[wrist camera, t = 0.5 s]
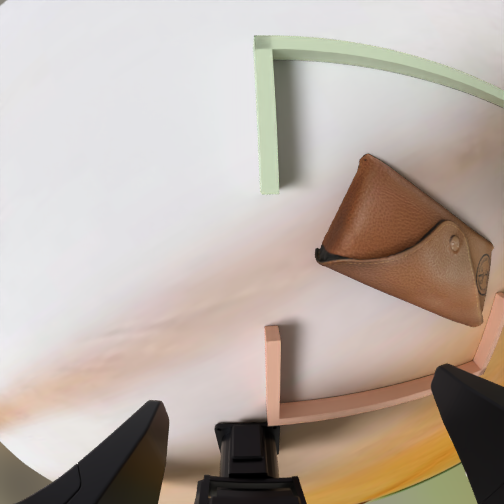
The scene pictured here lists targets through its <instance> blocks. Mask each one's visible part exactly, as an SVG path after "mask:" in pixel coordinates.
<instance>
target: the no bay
mask: <svg viewBox="0 0 504 504" xmlns="http://www.w3.org/2000/svg"><path fill="white" fill-rule="evenodd" d="M503 326H504V294H503V293H501V292H499V293H496V295H495V299H494V303H493V306H492V309H491V313H490V316H489V319H488V322H487V325H486V328H485V331H484V333H483V336H482V339H481V342H480V344H479V347H478V349H477V352H476V354H475V357H474V359H473V361H471V362H468V363H465V364H463V365H460V366H457V368H460V369H462V370H464V371H467V372H469V373H471V374H474V375H476V376H480V375H482V374H484V372H485V370H486V367H487V365H488V363H489V361H490V359H491V356H492V354H493V352H494V349H495V347H496V344H497V342H498V339H499V337H500V334H501V331H502V329H503ZM265 357H266V402H267V420H268V426H276V425H287V424H297V423H306V422H314V421H321V420H327V419H334V418H340V417H345V416H351V415H356V414H361V413H365V412H370V411H374V410H378V409H383V408H387V407H391V406H394V405H398V404H402V403H405V402H409V401H412V400H415V399H419V398H422V397H425V396H428V395H431V394H433V393H432V391H431V382H432V380H433V377H434V374H433V375H429V376H426V377H423V378H419V379H416V380H412V381H408V382H404V383H401V384H396V385H392V386H388V387H384V388H379V389H375V390H370V391H365V392H360V393H354V394H349V395H343V396H337V397H330V398H323V399H316V400H308V401H299V402H289V403H280V363H281V339H280V334H279V329H278V326H265Z"/></svg>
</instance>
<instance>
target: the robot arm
mask: <svg viewBox="0 0 504 504" xmlns="http://www.w3.org/2000/svg"><path fill="white" fill-rule="evenodd" d="M431 391H432V393H433V396H434V399H435V401H436V404H437V407H438V409H439V412H440V415H441V418H442V420H443V423H444V425H445V427H446V429H447V431H448V434H449V436H450V438H451V440H452V442H453V444H454V447H455V449H456V451H457V453H458V455H459V458H460V460H461V462H462V465H463V467H464V469H465V472H466V474H467V477H468V479H469V482H470V484H471V487H472V490H473V492H474V495H475V498H476V500H477V503H478V504H504V387H503V386H500V385H498V384H495V383H493V382H490V381H488V380H486V379H483V378H481V377H479V376H476V375H474V374H471V373H469V372H467V371H464V370H462V369H460V368H457V367H455V366H453V365H450V364H444V365H441V366H438V367H437V369H436V371H435V374H434V377H433V380H432V382H431ZM168 433H169V417H168V415H167V412H166V409H165V407H164V404H163V402H162V401H157V400H149V401H147V402H146V403H145V404H144V405H143V406H142V407H141V408H140V409H139V410H137V411H136V412H135V413H134V414H133V415H132V416H131V417H130V418H129V419H128V420H126V421H125V422H124V423H123V424H122V425H121V426H120V427H119V428H117V429H116V430H115V431H114V432H113V433H112V434H111V435H110V436H108V437H107V438H106V439H105V440H104V441H103V442H101V443H100V444H99V445H98V446H97V447H96V448H95V449H93V450H92V451H91V452H90V453H89V454H88V455H86V456H85V457H84V458H83V459H82V460H80V461H79V462H78V464H76V465H74V466H73V467H72V468H71V469H70V470H68V471H67V472H66V473H64V474H63V475H62V476H61V477H59V478H58V479H56V480H55V481H53V482H52V483H51V484H49V485H47V486H46V487H44V488H43V489H41V490H39V491H38V492H36V493H34V494H32V495H31V496H29V497H27V498H26V499H24V500H22V501H20V502H18V503H15V504H158V500H159V495H160V490H161V485H162V480H163V476H164V471H165V465H166V457H167V444H168ZM215 433H216V437H217V441H218V445H219V449H220V453H221V460H220V477H217V476H210V475H204V479H203V480H201V481H198V485H197V493H196V498H195V503H194V504H307V503H306V500H305V497H304V494H303V491H302V488H301V485H300V482H299V478H298V476H292V477H288V478H279V470H278V461H277V455H278V454H279V436H280V425H276V426H268V423H249V424H217V425H215Z"/></svg>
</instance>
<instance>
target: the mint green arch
mask: <svg viewBox="0 0 504 504" xmlns="http://www.w3.org/2000/svg"><path fill="white" fill-rule="evenodd" d="M253 52H254V70H255V89H256V110H257V131H258V153H259V176H260V192H261V194H262V195H268V194H279V171H278V145H277V123H276V104H275V86H274V70H273V60H301V61H317V62H329V63H338V64H347V65H354V66H361V67H368V68H374V69H379V70H385V71H390V72H394V73H399V74H404V75H408V76H412V77H416V78H420V79H424V80H427V81H431V82H434V83H438V84H441V85H444V86H448V87H451V88H454V89H457V90H460V91H463V92H465V93H468V94H471V95H473V96H476V97H479V98H481V99H484V100H486V101H489V102H491V103H493V104H496V105H498V106H500V107H502V108H504V91H503V90H501V89H499V88H497V87H495V86H493V85H491V84H489V83H487V82H485V81H483V80H480V79H478V78H476V77H474V76H471V75H469V74H466V73H464V72H461V71H459V70H456V69H453V68H451V67H448V66H445V65H442V64H439V63H436V62H433V61H430V60H427V59H424V58H421V57H417V56H414V55H410V54H406V53H402V52H398V51H394V50H390V49H386V48H381V47H376V46H371V45H366V44H360V43H354V42H348V41H341V40H333V39H324V38H313V37H299V36H254V44H253Z"/></svg>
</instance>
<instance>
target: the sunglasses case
mask: <svg viewBox="0 0 504 504" xmlns="http://www.w3.org/2000/svg"><path fill="white" fill-rule="evenodd" d="M359 162H360V163H359V166H358V171H357V173H356V175H355V177H354V179H353V181H352V183H351V185H350V187H349V189H348V191H347V194H346V195H345V197H344V199H343V202H342V204H341V205H340V207H339V210H338V212H337V213H336V216H335V218H334V220H333V221H332V224H331V225H330V228H329V230H328V232H327V234H326V235H325V237H324V240H323V242H322V245H321V248H320V249H318V248H316V249H315V258H316V261H317V262H318V263H319V264H320V265H322V266H325V267H328V268H330V269H332V270H334V271H337V272H339V273H341V274H343V275H346V276H348V277H350V278H352V279H354V280H357V281H359V282H361V283H363V284H366V285H368V286H370V287H373V288H375V289H377V290H380V291H382V292H384V293H387V294H389V295H392V296H394V297H396V298H399V299H401V300H404V301H406V302H409V303H411V304H414V305H416V306H418V307H421V308H423V309H425V310H428V311H430V312H433V313H435V314H437V315H440V316H442V317H444V318H447V319H450V320H452V321H455V322H458V323H461V324H465V325H467V326H470V327H476V326H480V325H481V324H482V323H483V316H482V311H483V306H484V301H485V296H486V291H487V285H488V279H489V271H490V264H491V251H492V250H493V249H494V247H493V245H492V243H491V242H489V241H488V240H487V239H485V238H484V237H482V236H481V235H479V234H478V233H476V232H475V231H474V230H472V229H471V228H470V227H468V226H467V225H466V224H465V223H463V222H462V221H461V220H460V219H458V218H457V217H456V216H455V215H453V214H452V213H451V212H449V211H448V210H447V209H445V208H444V207H443V206H441V205H440V204H439V203H438V202H436V201H435V200H433V199H432V198H431V197H429V196H428V195H427V194H425V193H424V192H422V191H421V190H420V189H418V188H417V187H416V186H414V185H413V184H412V183H411V182H409V181H408V180H406V179H405V178H404V177H402V176H401V175H400V174H399V173H397V172H396V171H394V170H393V169H392V168H391V167H389V166H387V165H386V164H385V163H383V162H382V161H380V160H379V159H377V158H375V157H373V156H372V155H370V154H366V155H364V156H363V157H362V158H361V159H360V161H359Z"/></svg>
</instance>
